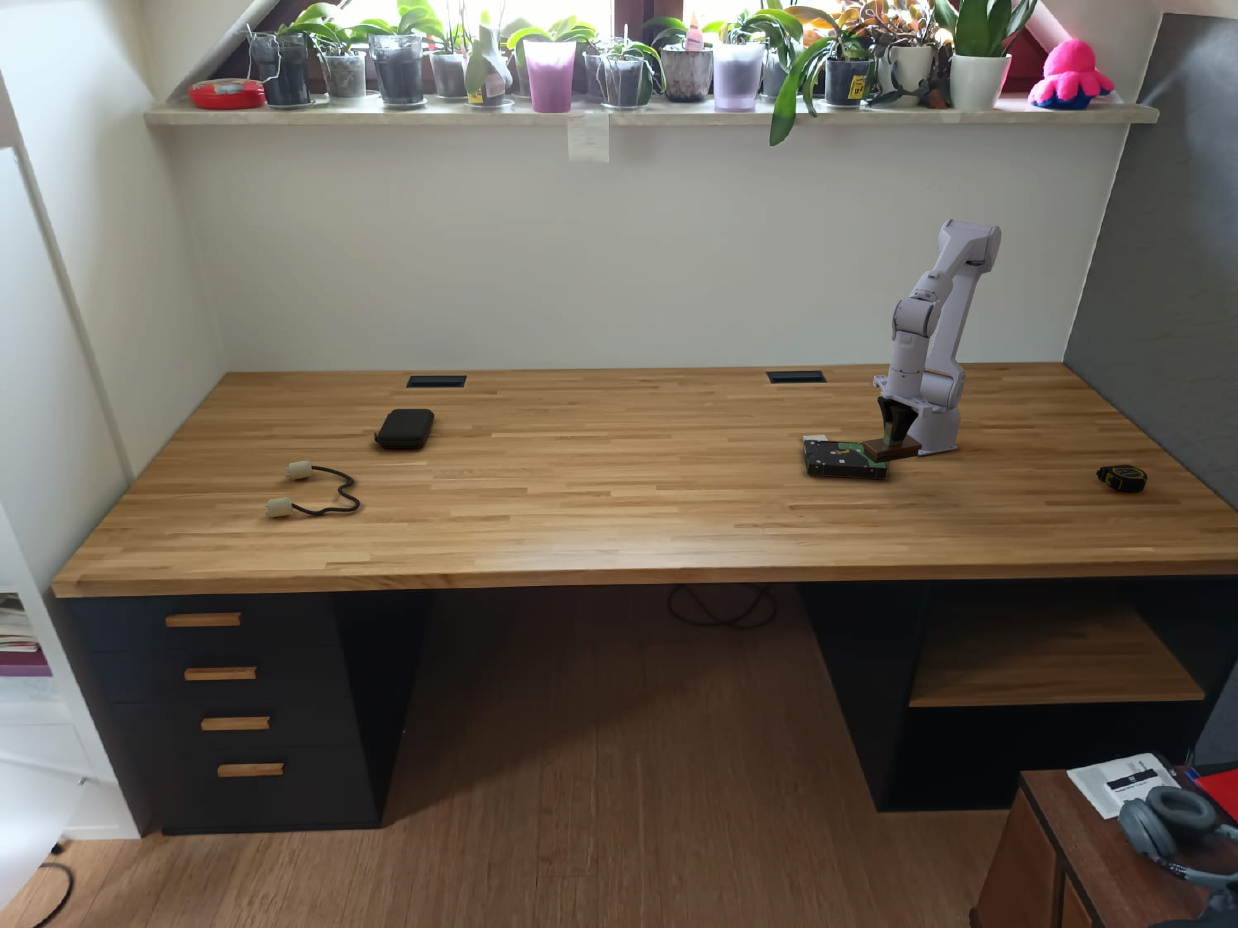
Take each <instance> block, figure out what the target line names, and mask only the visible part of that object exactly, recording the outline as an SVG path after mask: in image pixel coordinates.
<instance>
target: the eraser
mask: <svg viewBox="0 0 1238 928" xmlns="http://www.w3.org/2000/svg"><path fill="white" fill-rule="evenodd" d="M804 440H822V441H829V439H828V438H827V436H826V434H812V435H803V436H802V441H803V442H804Z"/></svg>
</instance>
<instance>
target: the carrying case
mask: <svg viewBox="0 0 1238 928" xmlns="http://www.w3.org/2000/svg"><path fill="white" fill-rule="evenodd" d="M434 420H435V413H434V412H433V411H432V410H431V409H429V408H394V409H393V410H391V411H390V413H387V416H386V417H385V420H384V422H383V423H382V425H381V427H380V430H379V432H376V431H374V434H373V439H374V442H375V443H377V444H378V445H379V446H381V448H384V449H418V448H421V447H422V446H423V445H424V444H425V443H426V441H427V439H428V436H429V434H430V431H431V429H432V426H433V424H434V423H433V422H434ZM377 433H378V434H377Z"/></svg>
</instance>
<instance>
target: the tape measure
mask: <svg viewBox="0 0 1238 928" xmlns="http://www.w3.org/2000/svg"><path fill="white" fill-rule="evenodd" d="M1095 475H1096V476H1097V479H1098V481H1099V482H1101V483H1105V485H1106V486H1107V487H1108V488H1109V489H1111V490H1114V491H1117V492H1118V493H1124V494H1137V493H1141V492H1143V491H1144V489H1145V487H1146V485H1147V482H1148V474H1147V473H1146V472H1145V471H1144V470H1143V469H1141V468H1138V467H1137V466H1134V465H1131V464H1117V465H1108V466H1102V467H1100V468H1099V469H1096V473H1095Z"/></svg>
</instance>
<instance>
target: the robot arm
mask: <svg viewBox="0 0 1238 928" xmlns="http://www.w3.org/2000/svg"><path fill="white" fill-rule="evenodd" d="M1001 242H1002V229H1001V228H1000V226H999V225H988V224H983V223H982V224H981V223H975V222H968V221H961V220H960V221H959V220H956V219H955V220H954V219H952V218H949V219H947V220H946V221H945V222H944V223H943V224H942V225H941V228H940V231H939V233H938V238H937V250H938V254H939V255H938V258H937V259H936V262H935V264H934V266H933V268H932V269H929V270H926V271H924V273H923V274H922V275H921V276H920V278H919V280H918V281H917V283H916V284H915V285H914V287H913V288H912V290H911V292H910V293H909V295H908V296H907V297H904V299H900V300H898V301H897V303H896V305H895V308H894V310H893V314H892V317H891V329H892V332H891V341H892V342H893V344H892V350H891V356H890V362H889V368H888V373H887V376H886V375H885V374H879V375H874V376H873V381H872V386H873V387H874V388H877V389H878V388H879V389H881V391H880V396H878V397H877V399H876V401H877V404H878V405H879V409H880V412H881V414H882V416H881V417H882V422H883V423H882V424H883V432H885V426H886V422H891V421H893V430H892V440H893V441H894V442H897V441H903V440H904V439H905V437H906V435H907V434H908V435H909V436H911V437H912V438H914V439H915V440H916V441H918V442H919V443H921V444H922V449H920V450H919V452H918V456H917V457H920V456H927V455H932V454H937V453H942V452H948V451H954V450H957V449H958V448H959V447H958V445H956V442H957V437H958V433H959V428H960V424H961V418H962V417H961V411H960V408H959V407H958V406H959V404H960V402H961V399H962V396H963V393H964V389H965V386H964V385H965V380H966V371H965V369H964V368H963V367H962V366H961V364H960V363H959V361H957V359H956V356H957V353H958V349H959V346H960V343H961V340H962V336H963V333H964V329H965V326H966V323H967V319H968V316H969V315H968V314H969V312H970V308H971V304H972V302H973V298H974V295H975V291H976V287H977V285H978V283H979V281H980V278H981V276H982V275H983V274H987V273H991V272H992V270H993V267H994V266H995V263H996V260H997V256H998V253H999V249H1000V246H1001ZM933 334H934V338H933V341H932V346H931V349H930V353H929V354H928V351H929V346H930V340H931V337H932V336H933ZM933 371H934V372H933ZM938 372H939V373H938ZM942 373H944V374H942ZM946 374H948V375H946Z"/></svg>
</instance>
